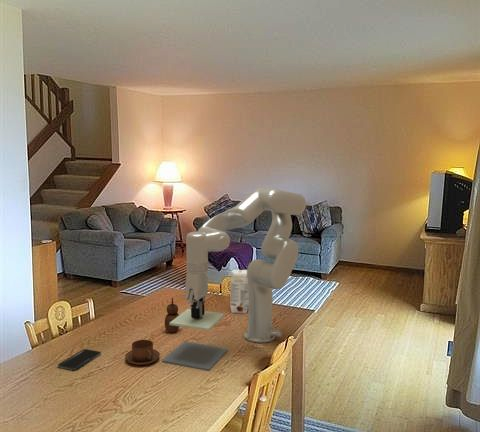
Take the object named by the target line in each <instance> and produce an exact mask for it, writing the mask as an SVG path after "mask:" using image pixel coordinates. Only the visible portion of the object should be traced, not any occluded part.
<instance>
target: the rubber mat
mask: <svg viewBox="0 0 480 432" xmlns="http://www.w3.org/2000/svg"><path fill="white" fill-rule="evenodd" d="M228 351H229V348H226V347H225V348H224V347H219V346H214V345H213V346H212V345H208V344H203V343H202V344H201V343H196V342H191V341H183V342H182V343H181V344H180V345H179V346H178V347H176V348H175V349H174V350H173V351H172V352H170V353H169V354H167V356H166V357H164V358H163V359H162V361H161V362H162V363H167V364H171V365H177V366H181V367H187V368H193V369H196V370H197V369H198V370H203V371H208V372H209V371H211V370H212V368H214V367H215V365H217V363H218V362H219V361H220V360H221V359H222V358H223V356H225V354H227V352H228Z"/></svg>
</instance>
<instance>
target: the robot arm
mask: <svg viewBox="0 0 480 432" xmlns="http://www.w3.org/2000/svg"><path fill="white" fill-rule="evenodd" d="M306 207H307V201H306V198H305V197H304V196H303V195H302V194H300V193H297V192H293V191H291V192H290V191H287V190H281V189H279V188H278V189H277V188H271V187H262V186H261V187H257V188H255V189H254V190H252V191H251V192H250V193H249V194H248V195H246V196H245V197H244V198H243V199H242V200H241V201H240V202H238V204H236V205H235V206H234V207H232V208H230V209H227V210H225V211H223V212H220V213H219V214H216V215H215V216H213V217H211V218H210V219H208V220H207V221H206V222H204V224H202V226H201V227H200V228H199V229H198V230H197V231H190V232H188V233H187V234H186V238H185V241H186V242H185V243H186V244H185V245H186V246H185V248H186V276H185V291H184V293H185V294H184V295H185V296H184V297H185V300H188V301H187V304H188V305H189V306H190V309H191V318H195V319H199V318H200V308H199V301H202V315H204V311H205V303H206V301H205V300H206V299H205V298H206V295H207V294H208V292H209V281H208V280H209V278H208V272H209V255H208V254H209V252H214V253H215V252H223V251H225V250H226V249H228V248H229V246H230V243H231V237H230V235H229V234H228V233H227V232H226V231H229V230H232V229H238V228H243V227H246V226H249V225H250V224H252V222H253V221H255V220H256V219H257V218H258V217H259V216H260V215H261V214H262V213H264V211H270V212H271V216H272V217H271V218H272V220H271V224H270V227H269V229H268V231H267V234H266V235H265V237H264V239H263V242H262V244H261V248H260V252H261V254H262V255H263V256H264V257H265V258H267V259H269V260H272V261H274V262H272V261H269V260H265V259H260V258H258V259H257V258H256V259H254V260H251V262H249V264H248V265H247V269H246V270H247V278H248V285H249V306H248V310H247V314H248V316H247V330H246V331H244V333H243V338H244V339H245V340H247V341H248V342H252V343H262V344H263V343H269V342H272V341H274V340H275V339H276V337H278V338H282V336H283V332H282V331H281V330H280V329H275V326H274V324H272V323H273V303H274V302H273V301H274V300H273V298H274V297H273V290H280V289H283V288H284V286H285V285H286V284H287V283H288V280H289V278H290V276H291V274H292V271H293V270H294V267H295V264H296V262H297V260H298V256H299V245H298V243H297V242H296V241H295V240H293V239H292V238H290V235H291V232H292V230H293V221H292V216H299V215H301V214H302V213H304V212H305V210H306ZM291 215H292V216H291ZM194 301H196V303H195V302H194Z"/></svg>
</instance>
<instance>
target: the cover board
mask: <svg viewBox="0 0 480 432" xmlns="http://www.w3.org/2000/svg"><path fill="white" fill-rule="evenodd" d="M193 302H195V303H196V301H193ZM199 308H200V318H199V319H195V318H191V308H187V309H185V311H183V312H182V313H181V314H179V316H178V317H176V318H175V319H174V320H172V321H171V322H170V323H169V324H170V325H173V326H179V328H180V327H183V328H187V329H195V330H200V331H201V330H202V331H208V332H209V331H210V330H212V328H213V327H215V326H216V325H217V323H219V322H220V321H221V320H222V319H223V318H224V317H225V316H226V313H224V312H215V311H207V310H204V315H202V301H199Z"/></svg>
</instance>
